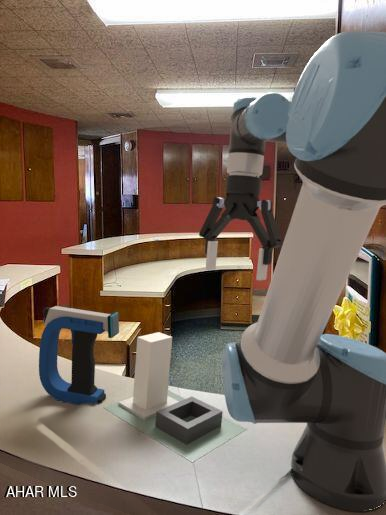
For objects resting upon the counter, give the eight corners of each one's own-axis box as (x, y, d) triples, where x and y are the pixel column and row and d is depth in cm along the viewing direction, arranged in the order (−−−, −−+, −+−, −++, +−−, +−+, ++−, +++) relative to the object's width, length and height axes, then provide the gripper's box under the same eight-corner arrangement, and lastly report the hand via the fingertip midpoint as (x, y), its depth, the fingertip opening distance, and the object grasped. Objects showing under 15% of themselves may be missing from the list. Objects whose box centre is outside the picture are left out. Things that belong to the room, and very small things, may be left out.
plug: (167, 401, 87) (172, 337, 86) (145, 410, 83) (150, 342, 81) (154, 394, 90) (158, 332, 88) (132, 402, 85) (137, 337, 84)
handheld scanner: (107, 411, 84) (113, 316, 82) (35, 398, 87) (40, 306, 85) (115, 402, 89) (122, 311, 87) (47, 389, 92) (52, 302, 90)
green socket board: (246, 433, 80) (248, 414, 80) (191, 468, 68) (193, 445, 68) (160, 390, 96) (161, 374, 95) (103, 412, 84) (104, 393, 83)
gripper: (306, 178, 83) (294, 283, 85) (209, 177, 99) (202, 265, 102) (288, 174, 77) (275, 286, 80) (188, 173, 93) (181, 266, 96)
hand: (234, 274), depth 91 cm, fingers open, 13 cm apart
